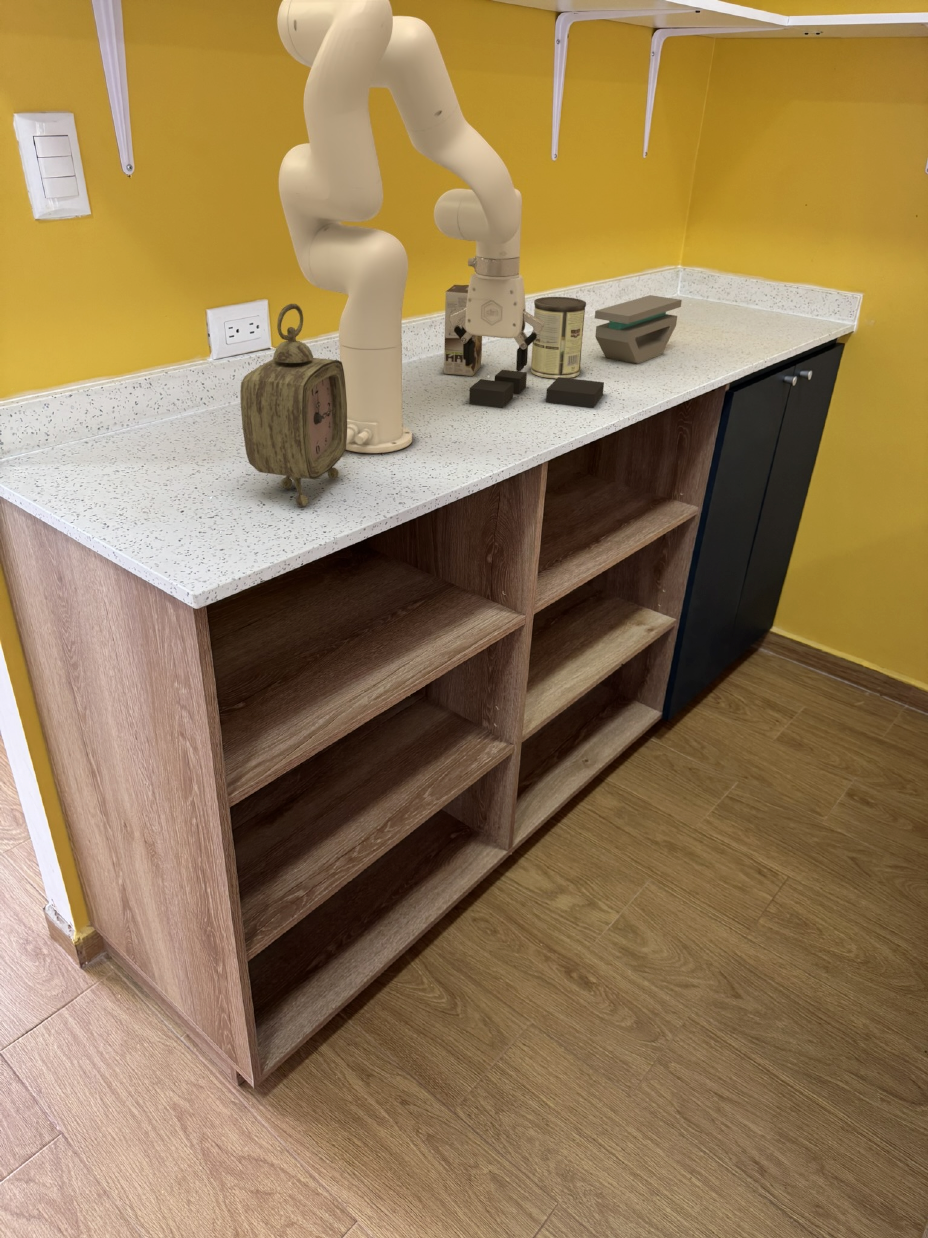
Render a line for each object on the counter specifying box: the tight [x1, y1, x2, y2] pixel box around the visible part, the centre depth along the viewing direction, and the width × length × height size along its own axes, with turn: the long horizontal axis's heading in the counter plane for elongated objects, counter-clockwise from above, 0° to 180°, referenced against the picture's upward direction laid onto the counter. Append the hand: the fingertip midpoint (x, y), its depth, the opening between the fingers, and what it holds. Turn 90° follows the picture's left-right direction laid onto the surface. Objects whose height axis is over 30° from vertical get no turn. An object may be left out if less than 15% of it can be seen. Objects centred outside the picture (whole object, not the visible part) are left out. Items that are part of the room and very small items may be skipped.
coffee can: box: [530, 296, 587, 380], centre depth 179 cm, size 10×10×14 cm
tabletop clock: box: [239, 303, 347, 507], centre depth 117 cm, size 14×9×25 cm, turn 164°
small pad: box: [494, 369, 528, 395], centre depth 170 cm, size 5×5×3 cm
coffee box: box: [443, 284, 483, 377], centre depth 178 cm, size 9×6×16 cm
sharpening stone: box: [594, 294, 683, 365], centre depth 193 cm, size 25×8×11 cm, turn 143°
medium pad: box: [468, 378, 514, 409], centre depth 162 cm, size 6×6×3 cm
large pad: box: [545, 377, 605, 409], centre depth 165 cm, size 9×9×2 cm
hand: (494, 366), depth 160 cm, fingers open, 9 cm apart
